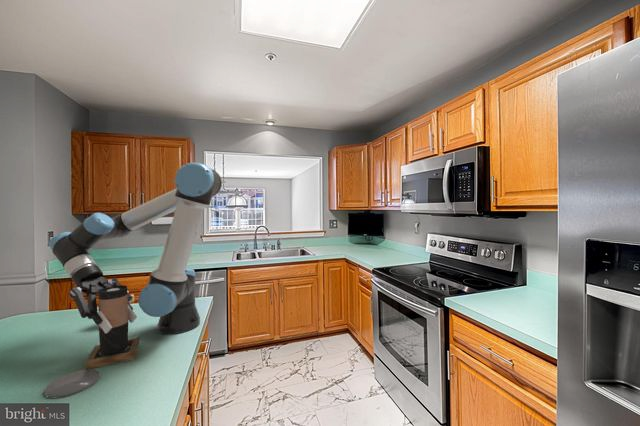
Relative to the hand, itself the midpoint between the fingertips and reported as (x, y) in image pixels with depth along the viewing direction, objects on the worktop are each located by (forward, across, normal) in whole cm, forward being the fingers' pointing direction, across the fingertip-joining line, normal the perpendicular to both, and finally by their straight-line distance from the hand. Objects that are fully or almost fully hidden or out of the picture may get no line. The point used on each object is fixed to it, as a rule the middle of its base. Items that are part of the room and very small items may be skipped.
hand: (121, 324), depth 88 cm
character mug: (-11, -18, -26) cm, 34 cm away
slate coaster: (+8, +14, -7) cm, 17 cm away
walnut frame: (+5, 0, -10) cm, 11 cm away
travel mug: (+4, 0, -9) cm, 10 cm away
